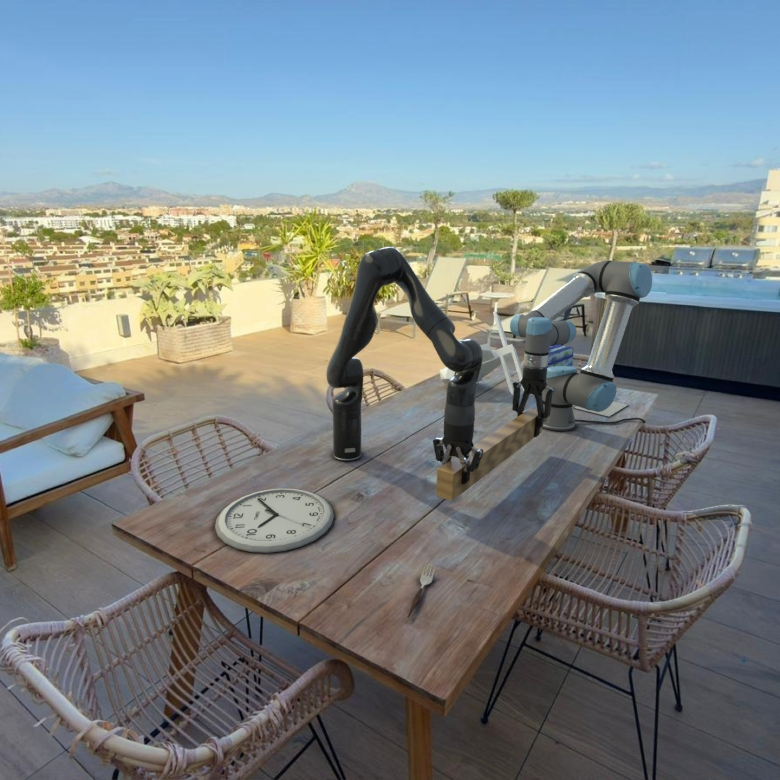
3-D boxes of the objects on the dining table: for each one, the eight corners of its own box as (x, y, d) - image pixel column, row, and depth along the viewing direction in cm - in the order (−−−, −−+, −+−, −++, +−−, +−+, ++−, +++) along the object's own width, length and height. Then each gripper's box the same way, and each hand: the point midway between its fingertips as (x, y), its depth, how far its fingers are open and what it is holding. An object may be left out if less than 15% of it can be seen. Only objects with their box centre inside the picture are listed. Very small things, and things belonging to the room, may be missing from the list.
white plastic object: (461, 429, 252) (437, 405, 227) (444, 352, 274) (420, 323, 250) (535, 404, 240) (518, 377, 215) (510, 326, 262) (492, 293, 237)
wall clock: (332, 544, 122) (200, 548, 120) (332, 550, 123) (201, 555, 120) (334, 484, 151) (228, 486, 148) (334, 489, 151) (228, 491, 149)
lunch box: (545, 397, 238) (550, 352, 231) (524, 391, 245) (529, 348, 239) (572, 386, 255) (578, 344, 249) (552, 381, 262) (557, 340, 256)
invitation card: (608, 416, 214) (573, 407, 224) (608, 416, 214) (573, 408, 224) (628, 404, 229) (594, 396, 238) (628, 405, 229) (594, 397, 238)
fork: (401, 617, 102) (401, 609, 101) (424, 570, 116) (425, 562, 116) (414, 621, 101) (414, 612, 100) (436, 572, 115) (436, 565, 115)
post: (528, 428, 180) (530, 408, 178) (541, 432, 178) (543, 411, 175) (435, 495, 134) (437, 468, 132) (451, 501, 131) (453, 474, 129)
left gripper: (427, 416, 132) (424, 477, 137) (477, 430, 124) (473, 494, 129) (442, 409, 138) (439, 467, 143) (491, 421, 130) (487, 483, 135)
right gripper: (504, 364, 170) (499, 430, 177) (558, 373, 159) (550, 444, 166) (514, 359, 175) (508, 424, 182) (566, 368, 165) (558, 436, 172)
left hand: (455, 480), depth 136 cm, fingers closed on post, 4 cm apart
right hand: (528, 433), depth 174 cm, fingers closed on post, 5 cm apart
